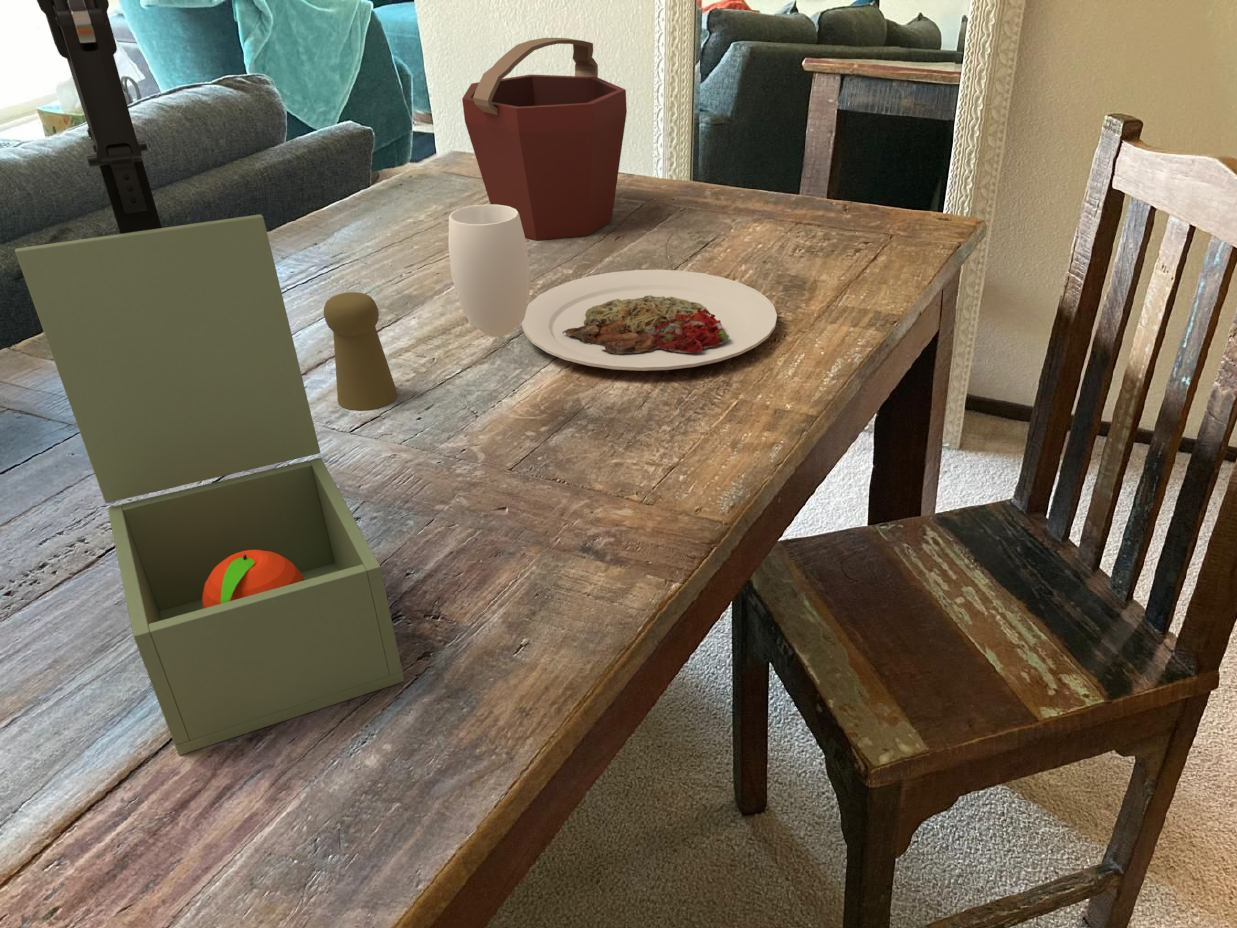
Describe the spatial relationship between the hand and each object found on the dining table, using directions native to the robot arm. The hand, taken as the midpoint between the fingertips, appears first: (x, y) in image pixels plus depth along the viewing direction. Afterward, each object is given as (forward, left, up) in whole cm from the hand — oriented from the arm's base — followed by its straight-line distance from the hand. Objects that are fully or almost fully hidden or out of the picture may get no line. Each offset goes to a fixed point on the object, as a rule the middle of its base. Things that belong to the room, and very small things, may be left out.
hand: (147, 252), depth 79 cm
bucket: (-65, +57, -24) cm, 90 cm away
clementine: (+18, 0, -24) cm, 30 cm away
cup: (-8, +28, -24) cm, 38 cm away
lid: (+9, 0, -5) cm, 10 cm away
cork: (-20, +17, -24) cm, 36 cm away
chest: (+18, 0, -24) cm, 30 cm away
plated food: (-22, +51, -24) cm, 61 cm away
